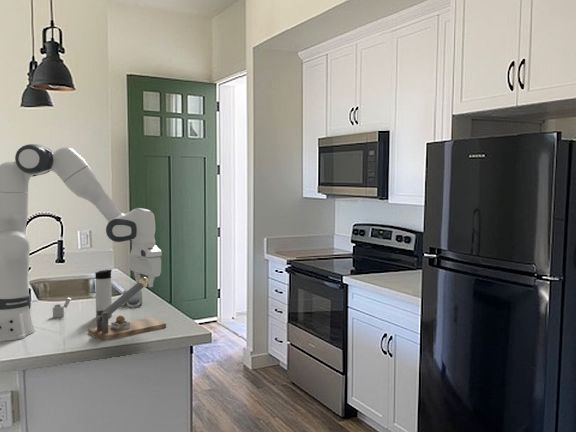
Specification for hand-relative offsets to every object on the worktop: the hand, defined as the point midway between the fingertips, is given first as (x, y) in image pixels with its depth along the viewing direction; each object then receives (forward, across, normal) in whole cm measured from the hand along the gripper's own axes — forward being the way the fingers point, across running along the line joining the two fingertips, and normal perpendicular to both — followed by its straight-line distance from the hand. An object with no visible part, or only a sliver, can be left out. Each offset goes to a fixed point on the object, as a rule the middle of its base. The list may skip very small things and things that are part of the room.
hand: (144, 284), depth 205 cm
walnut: (+12, 0, -10) cm, 16 cm away
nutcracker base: (+17, 0, -7) cm, 18 cm away
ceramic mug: (+17, -35, +13) cm, 41 cm away
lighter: (+17, -36, -19) cm, 44 cm away
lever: (+6, 0, -7) cm, 9 cm away
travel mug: (+17, -24, -6) cm, 30 cm away
